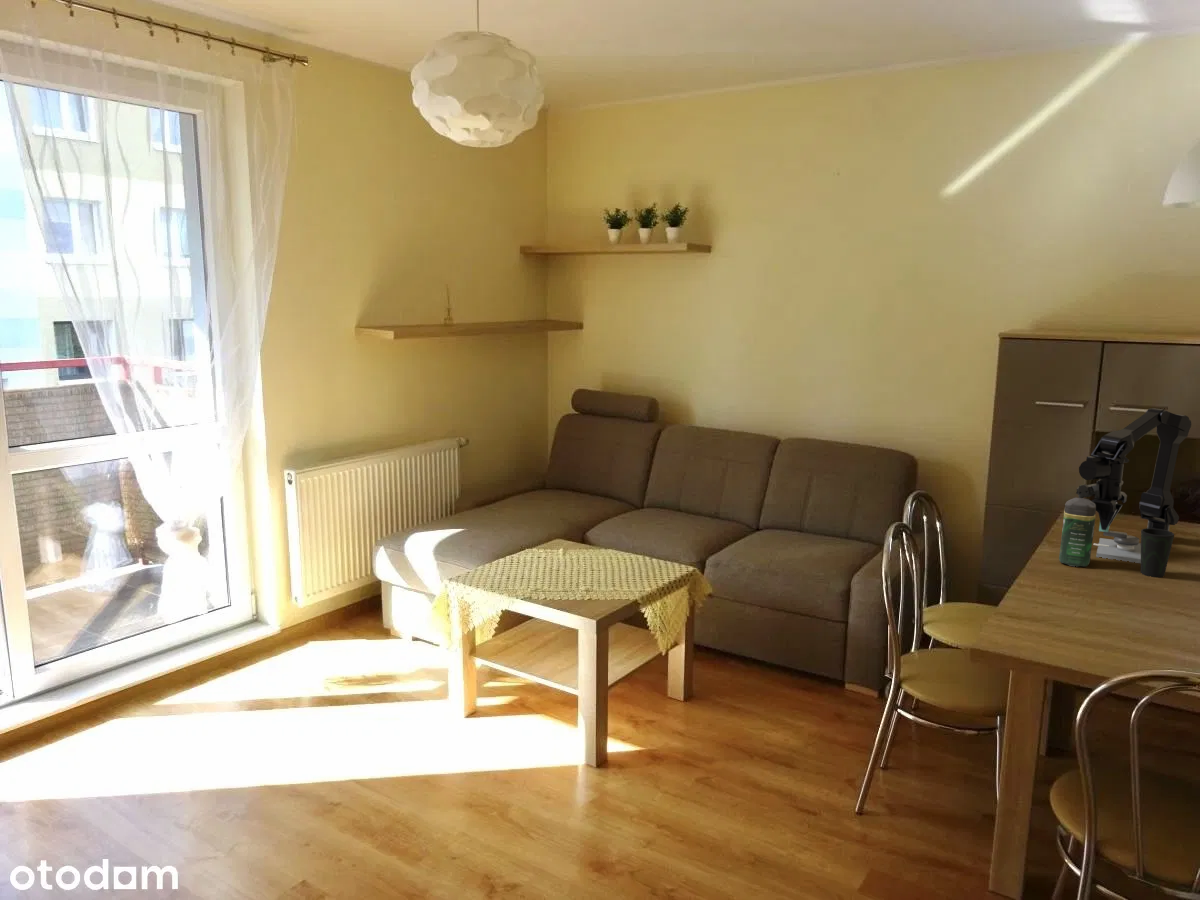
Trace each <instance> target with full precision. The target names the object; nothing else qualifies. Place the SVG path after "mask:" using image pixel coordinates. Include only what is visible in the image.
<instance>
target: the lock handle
mask: <svg viewBox="0 0 1200 900" xmlns="http://www.w3.org/2000/svg"><path fill="white" fill-rule="evenodd" d="M1098 532H1103V536H1104V537H1105V536H1107V537H1113V540H1114V542H1116V543H1119V544H1123V545H1138V544H1139V543H1140V538H1139V537H1137V536H1133V535H1129V534H1128V532H1123V531H1115V530H1110V526H1109V525H1108V527H1107V529H1106V530H1102V529H1101V523H1100V522H1099V527H1098Z"/></svg>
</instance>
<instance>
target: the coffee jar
mask: <svg viewBox="0 0 1200 900" xmlns="http://www.w3.org/2000/svg"><path fill="white" fill-rule="evenodd" d="M1096 513H1097V511H1096V505H1095V503H1093V502H1092V500H1090V498H1079V497H1073V498H1071V499H1068V500H1067V501H1066V502H1065V504H1064V512H1063V522H1062V529H1061V530H1062V531H1061V537H1060V538H1061V539H1060V547H1059V556H1058V560H1059V562H1060V563H1061V564H1065V565H1068V566H1069V567H1075V566H1076V567H1088V566H1089V564H1090V562H1091V556H1092V555H1091V554H1092V548H1093V541H1094V533H1095V532H1094V531H1095V527H1096V526H1095V523H1096V516H1097V515H1096Z"/></svg>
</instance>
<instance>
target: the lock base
mask: <svg viewBox="0 0 1200 900" xmlns="http://www.w3.org/2000/svg"><path fill="white" fill-rule="evenodd" d="M1092 546H1097V549H1096V555H1095V558H1099V557H1102V558H1101V559H1106V558H1108V560H1113V559H1116V560H1115V561H1120V560H1122V561H1121V562H1127V561H1129V563H1134V562H1135V563H1136V564H1141V542H1139V544H1138V545H1123V544H1119V543H1116V542H1114V539H1110V538H1102V537H1099V542H1098V543H1095V542H1094V543H1092Z"/></svg>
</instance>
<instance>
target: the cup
mask: <svg viewBox="0 0 1200 900" xmlns="http://www.w3.org/2000/svg"><path fill="white" fill-rule="evenodd" d="M1174 538H1175V533H1174V532H1172V531H1170V530H1169V531H1167V530H1162V529H1154V528H1147V527H1145V528H1142V529H1141V530H1140V543H1141V563H1140V573H1142V575H1143V576H1147V577H1150V576H1151V577H1150V578H1164V577H1165V574H1166V571H1167V566H1168V562H1169V558H1170V554H1171V550H1172V546H1173V541H1174ZM1163 576H1164V577H1163Z"/></svg>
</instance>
